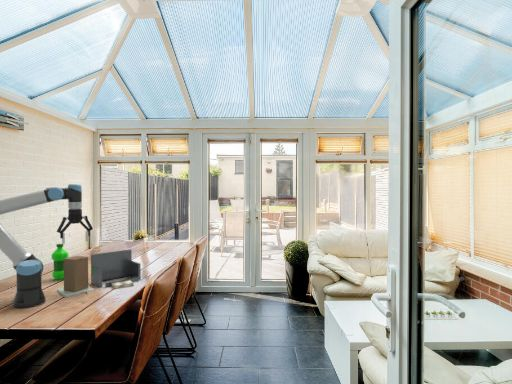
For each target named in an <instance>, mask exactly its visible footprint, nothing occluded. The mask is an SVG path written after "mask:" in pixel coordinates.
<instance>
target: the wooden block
mask: <svg viewBox="0 0 512 384" xmlns="http://www.w3.org/2000/svg"><path fill="white" fill-rule="evenodd" d="M88 285H89V256H84V255H73V256H70V257H69V256H68V258H64V279H63V288H64V290H65V291H72V292H77V291H80V290H83V289H86V288H88Z"/></svg>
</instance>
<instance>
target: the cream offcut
mask: <svg viewBox="0 0 512 384" xmlns="http://www.w3.org/2000/svg"><path fill="white" fill-rule="evenodd" d="M133 285H134V282H132V281H131V280H129V281H123V282H117V283H111V286H112V287H111V288H112V289H114V290H117V289H116V288H118V289H122V288H121V287H123V288H128V287H132V286H133ZM127 286H128V287H127ZM133 287H134V286H133Z"/></svg>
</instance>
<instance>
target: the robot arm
mask: <svg viewBox="0 0 512 384" xmlns="http://www.w3.org/2000/svg"><path fill="white" fill-rule="evenodd" d="M67 185H68V186H66V187H59V186H53V187H52V186H51V187H46V188H45V189H43V190H38V191H35V192H29V193H25V194H22V195H21V194H20V195H17V196H12V197H8V198H3V199H1V200H0V216H1V215H4V214H7V213H12V212H16V211H19V210H25V209H28V208H31V207H35V206H39V205H44V204H46V203H52V202H56V201H59V200H60V201H61V200H67V201H68V203H67V205H68V206H67V208H68V214H67V215H68V216H62V220H61V222H60V224H59V226H58V227H57V230H56V232H57V233H59V238H60V239H61V244H63V245H64V244H66V239H65V235H66V234H65V233H64V232H65V231H66V230H67V229H68V228H69V227H70V226H71V225H72V224H73V225H74V224H75V225H76V224H80V225H81V226H82V227H83V228H84V229H85V242H89V237H90V235H91V231H92V230H94V228H93V226H92V224H91V223H90V221H89V218H88V216H87V215H84V216H83V209H82V207H83V203H82V202H83V200H82V199H83V197H82V196H83V193H82V192H83V190H82V184H79V183H78V184H74V183H73V184H67ZM67 220H68V222H67ZM82 220H84V221H85V223H86V224H85V223H84V221H82ZM66 222H67V223H66ZM65 223H66V224H65ZM64 225H65V226H64ZM0 251H1V252H2V253H3V254H4V255H5V256H6V257H7V258H8V259H9V260H10V261H11V262H12V268H13V269H14V270H15V272H16V292H15V296H14V298H13V300H12V307H13V308H16V309H26V308H31V307H36V306H40V305H42V304H44V303H46V296H45V293H44V290H43V289H42V288H43V287H42V282H43V281H42V274H43V272H44V263H43V262H42V261H41V259H39V258H37V257H36V256H35V255H34V254H33V252H27V251H26V250H25V249H24V248H23V246H22V245H21V244H20V243H19V241H17V240H16V238H15V237H14V236H13V235H12V234H11V233H10V232H9V230H7V229H6V228H5V227H4V226H3V224H1V223H0Z"/></svg>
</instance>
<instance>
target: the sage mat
mask: <svg viewBox="0 0 512 384" xmlns="http://www.w3.org/2000/svg"><path fill="white" fill-rule="evenodd" d="M94 290H96V289H95V288H93V287H92V286H90V285H89V284H88V288H86V289H83V290H80V291H77V292H72V291H65V290H64V287H60V288H57V289H56V292H58V293H59V294H60V295H61V296H63V297H64V298H69V297H74V296H79V295H84V294H87V293H88V292H90V291H94Z"/></svg>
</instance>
